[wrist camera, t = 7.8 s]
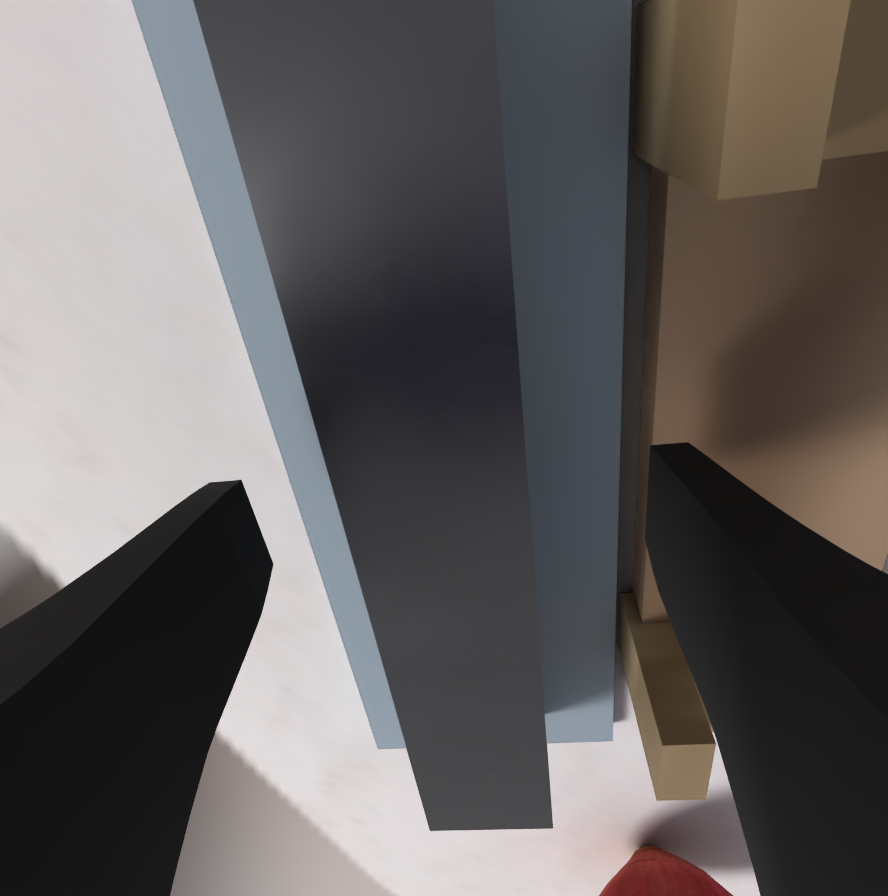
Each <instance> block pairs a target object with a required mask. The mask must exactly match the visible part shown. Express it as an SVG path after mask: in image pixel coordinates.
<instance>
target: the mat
mask: <svg viewBox="0 0 888 896" xmlns="http://www.w3.org/2000/svg"><path fill="white" fill-rule="evenodd" d="M132 3H133V6H134V9H135V12H136V15H137V18H138V21H139V24H140V27H141V30H142V34H143V37H144V40H145V43H146V46H147V49H148V52H149V55H150V58H151V61H152V64H153V67H154V70H155V73H156V76H157V79H158V82H159V85H160V88H161V91H162V94H163V97H164V100H165V103H166V106H167V109H168V113H169V116H170V119H171V122H172V125H173V128H174V131H175V134H176V137H177V140H178V143H179V146H180V149H181V152H182V155H183V158H184V161H185V164H186V167H187V170H188V173H189V176H190V179H191V182H192V185H193V189H194V192H195V195H196V198H197V201H198V204H199V207H200V210H201V213H202V216H203V219H204V222H205V225H206V228H207V231H208V234H209V237H210V240H211V243H212V246H213V249H214V252H215V255H216V258H217V261H218V264H219V268H220V271H221V274H222V277H223V280H224V283H225V286H226V289H227V292H228V295H229V298H230V301H231V304H232V307H233V310H234V313H235V316H236V319H237V322H238V325H239V328H240V331H241V334H242V337H243V340H244V343H245V347H246V350H247V353H248V356H249V359H250V362H251V365H252V368H253V371H254V374H255V377H256V380H257V383H258V386H259V389H260V392H261V395H262V398H263V401H264V404H265V407H266V410H267V413H268V416H269V419H270V422H271V426H272V429H273V432H274V435H275V438H276V441H277V444H278V447H279V450H280V453H281V456H282V459H283V462H284V465H285V468H286V471H287V474H288V477H289V480H290V483H291V486H292V489H293V492H294V495H295V498H296V502H297V505H298V508H299V511H300V514H301V517H302V520H303V523H304V526H305V529H306V532H307V535H308V538H309V541H310V544H311V547H312V550H313V553H314V556H315V559H316V562H317V565H318V568H319V571H320V574H321V577H322V581H323V584H324V587H325V590H326V593H327V596H328V599H329V602H330V605H331V608H332V611H333V614H334V617H335V620H336V623H337V626H338V629H339V632H340V635H341V638H342V641H343V644H344V647H345V650H346V653H347V656H348V660H349V663H350V666H351V669H352V672H353V675H354V678H355V681H356V684H357V687H358V690H359V693H360V696H361V699H362V702H363V705H364V708H365V711H366V714H367V717H368V720H369V723H370V726H371V729H372V732H373V735H374V739H375V742H376V745H377V748H378V749H399V748H406V745H405V741H404V738H403V734H402V731H401V727H400V724H399V720H398V717H397V713H396V710H395V706H394V703H393V699H392V696H391V692H390V689H389V685H388V682H387V678H386V675H385V671H384V668H383V664H382V661H381V657H380V654H379V650H378V647H377V643H376V640H375V636H374V633H373V629H372V625H371V622H370V618H369V615H368V611H367V608H366V604H365V601H364V597H363V594H362V590H361V587H360V583H359V580H358V576H357V573H356V569H355V566H354V562H353V559H352V555H351V552H350V548H349V545H348V541H347V538H346V534H345V531H344V527H343V524H342V520H341V517H340V513H339V510H338V506H337V503H336V499H335V496H334V492H333V489H332V485H331V482H330V478H329V475H328V471H327V468H326V464H325V461H324V457H323V454H322V450H321V447H320V443H319V440H318V436H317V433H316V429H315V426H314V422H313V419H312V415H311V412H310V408H309V405H308V401H307V398H306V394H305V391H304V387H303V384H302V380H301V377H300V373H299V370H298V366H297V363H296V359H295V356H294V352H293V349H292V345H291V342H290V338H289V335H288V331H287V328H286V324H285V321H284V317H283V314H282V310H281V307H280V303H279V300H278V296H277V293H276V289H275V286H274V282H273V279H272V275H271V272H270V268H269V265H268V261H267V258H266V254H265V251H264V247H263V244H262V240H261V236H260V233H259V229H258V226H257V222H256V219H255V215H254V212H253V208H252V205H251V201H250V198H249V194H248V191H247V187H246V184H245V180H244V177H243V173H242V170H241V166H240V163H239V159H238V156H237V152H236V149H235V145H234V142H233V138H232V135H231V131H230V128H229V124H228V121H227V117H226V114H225V110H224V107H223V103H222V100H221V96H220V93H219V89H218V86H217V82H216V79H215V75H214V72H213V68H212V65H211V61H210V58H209V54H208V51H207V47H206V44H205V40H204V37H203V33H202V30H201V26H200V23H199V19H198V16H197V12H196V9H195V5H194V2H193V0H132ZM493 10H494V24H495V37H496V51H497V65H498V79H499V93H500V106H501V120H502V134H503V148H504V161H505V175H506V189H507V203H508V216H509V230H510V244H511V258H512V271H513V285H514V299H515V313H516V327H517V340H518V354H519V368H520V382H521V395H522V409H523V423H524V437H525V450H526V464H527V478H528V492H529V506H530V519H531V533H532V547H533V561H534V574H535V588H536V602H537V616H538V629H539V643H540V657H541V671H542V685H543V698H544V712H545V726H546V740H547V743H571V742H600V741H613V707H614V669H615V630H616V592H617V554H618V515H619V477H620V439H621V400H622V362H623V323H624V285H625V247H626V208H627V170H628V131H629V93H630V55H631V16H632V0H493Z"/></svg>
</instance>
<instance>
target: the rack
mask: <svg viewBox="0 0 888 896" xmlns="http://www.w3.org/2000/svg"><path fill="white" fill-rule="evenodd" d="M634 156H636V157H638V158H640V159H642V160H643V161H645V162H647V163H649V164H651V165H652V177H651V199H650V221H649V243H648V265H647V287H646V309H645V331H644V353H643V374H642V396H641V418H640V440H639V462H638V484H637V506H636V528H635V549H634V571H633V593H620V618H619V650H620V654H621V658H622V662H623V666H624V670H625V674H626V679H627V683H628V687H629V691H630V695H631V699H632V703H633V707H634V711H635V715H636V719H637V723H638V727H639V731H640V735H641V739H642V743H643V747H644V751H645V755H646V759H647V763H648V767H649V771H650V775H651V779H652V783H653V787H654V791H655V795H656V800H657V801H660V800H702V799H706V796H707V790H708V785H709V779H710V773H711V768H712V762H713V757H714V751H715V746H716V743H715V740H714V737H713V734H712V732H714V730H713V728H712V725H711V722H710V719H709V716H708V714H707V711H706V708H705V706H704V703H703V701H702V698H701V696H700V693H699V691H698V688H697V686H696V684H695V681H694V679H693V676H692V674H691V671H690V669H689V666H688V664H687V661H686V659H685V656H684V654H683V652H682V649H681V647H680V644H679V642H678V639H677V637H676V634H675V632H674V629H673V627H672V624H671V622H670V619H669V617H668V614H667V612H666V609H665V607H664V604H663V602H662V599H661V597H660V594H659V591H658V588H657V585H656V581H655V577H654V573H653V570H652V566H651V562H650V558H649V554H648V550H647V546H646V542H645V526H646V508H647V491H648V473H649V455H650V445H660V444H672V443H683V442H688V443H690V444H691V445H693V446H694V447H696V448H697V449H698V450H700V451H701V452H702V453H704V454H705V455H706V456H708V457H709V458H710V459H712V460H713V461H714V462H716V463H717V464H718V465H720V466H721V467H722V468H724V469H725V470H726V471H728V472H729V473H730V474H732V475H733V476H734V477H736V478H737V479H738V480H740V481H741V482H743V483H744V484H745V485H747V486H748V487H749V488H751V489H752V490H754V491H755V492H756V493H758V494H759V495H760V496H762V497H763V498H765V499H766V500H768V501H769V502H770V503H772V504H773V505H775V506H776V507H778V508H779V509H781V510H782V511H783V512H785V513H786V514H788V515H789V516H791V517H792V518H794V519H795V520H797V521H798V522H800V523H801V524H803V525H805V526H806V527H808V528H809V529H811V530H813V531H814V532H816V533H817V534H819V535H821V536H822V537H824V538H825V539H827V540H829V541H830V542H832V543H833V544H835V545H837V546H838V547H840V548H841V549H843V550H845V551H847V552H848V553H850V554H852V555H853V556H855V557H857V558H859V559H860V560H862V561H864V562H866V563H867V564H869V565H871V566H873V567H875V568H877V569H879V570H881V571H882V569H883V566H884V564H885V561H886V558H887V555H888V0H648V1H645V2H643V3H640V4H638V32H637V64H636V97H635V130H634Z"/></svg>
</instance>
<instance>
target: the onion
mask: <svg viewBox="0 0 888 896" xmlns="http://www.w3.org/2000/svg"><path fill="white" fill-rule="evenodd" d="M599 896H733V895H732V894H730V893H729V892H728V891H727V890H726V889H725V888H723V887H722V886H721V885H720V884H719V883H718V882H716V881H715V880H714V879H713V878H712V877H710V876H709V875H708V874H707V873H706V872H704V871H703V870H702V869H700V868H698V867H696V866H695V865H693V864H691V863H689V862H687V861H686V860H684V859H682V858H679V857H677V856H675V855H673V854H671V853H669V852H667V851H665V850H663V849H661V848H659V847H656V846H646V847H642V848H640V849H638V850H636V851H635V852H634V854H633V856H632V857H631V859H630V860H629V861H628V862H627V863H626V865H625V866H624V867H623V868H622V869H621V870H620V871H619V872H618V873H617V874H616V875H615V876H614V877H613V878H612V879H611V880H610V881H609V883H608V884H607V885H606V887H605V888H604V889H603V891H602V892H601V894H600V895H599Z"/></svg>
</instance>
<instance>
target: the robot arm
mask: <svg viewBox="0 0 888 896" xmlns="http://www.w3.org/2000/svg"><path fill="white" fill-rule="evenodd" d="M645 542H646V546H647V550H648V554H649V558H650V562H651V566H652V570H653V573H654V577H655V581H656V585H657V588H658V591H659V594H660V597H661V599H662V602H663V604H664V607H665V609H666V612H667V614H668V617H669V619H670V622H671V624H672V627H673V629H674V632H675V634H676V637H677V639H678V642H679V644H680V647H681V649H682V652H683V654H684V656H685V659H686V661H687V664H688V666H689V669H690V671H691V674H692V676H693V679H694V681H695V684H696V686H697V688H698V691H699V693H700V696H701V698H702V701H703V703H704V706H705V708H706V711H707V714H708V716H709V719H710V722H711V725H712V728H713V730H714V733H715V736H716V739H717V742H718V746H719V749H720V752H721V756H722V759H723V763H724V766H725V769H726V773H727V776H728V780H729V783H730V786H731V790H732V793H733V797H734V800H735V803H736V807H737V811H738V814H739V818H740V821H741V825H742V829H743V832H744V836H745V839H746V843H747V847H748V850H749V854H750V857H751V861H752V865H753V868H754V872H755V876H756V879H757V883H758V887H759V891H760V895H761V896H888V574H886V573H884V572H882V571H881V570H879V569H877V568H875V567H873V566H871V565H869V564H867V563H866V562H864V561H862V560H860V559H859V558H857V557H855V556H853V555H852V554H850V553H848V552H847V551H845V550H843V549H841V548H840V547H838V546H837V545H835V544H833V543H832V542H830V541H829V540H827V539H825V538H824V537H822V536H821V535H819V534H817V533H816V532H814V531H813V530H811V529H809V528H808V527H806V526H805V525H803V524H801V523H800V522H798V521H797V520H795V519H794V518H792V517H791V516H789V515H788V514H786V513H785V512H783V511H782V510H781V509H779V508H778V507H776V506H775V505H773V504H772V503H770V502H769V501H768V500H766V499H765V498H763V497H762V496H760V495H759V494H758V493H756V492H755V491H754V490H752V489H751V488H749V487H748V486H747V485H745V484H744V483H743V482H741V481H740V480H738V479H737V478H736V477H734V476H733V475H732V474H730V473H729V472H728V471H726V470H725V469H724V468H722V467H721V466H720V465H718V464H717V463H716V462H714V461H713V460H712V459H710V458H709V457H708V456H706V455H705V454H704V453H702V452H701V451H700V450H698V449H697V448H696V447H694V446H693V445H691V444H690V443H688V442H683V443H672V444H660V445H650V455H649V473H648V491H647V508H646V526H645ZM272 568H273V562H272V559H271V557H270V554H269V552H268V549H267V546H266V544H265V541H264V538H263V536H262V533H261V530H260V528H259V525H258V523H257V520H256V517H255V515H254V512H253V509H252V507H251V504H250V502H249V499H248V496H247V494H246V491H245V488H244V486H243V483H242V480H236V481H224V482H212V483H208V484H207V485H205V486H204V487H202V488H200V489H199V490H197V491H196V492H194V493H193V494H191V495H190V496H189V497H187V498H186V499H184V500H183V501H182V502H180V503H179V504H177V505H176V506H175V507H173V508H172V509H171V510H169V511H168V512H167V513H165V514H164V515H163V516H162V517H160V518H159V519H158V520H156V521H155V522H154V523H152V524H151V525H150V526H148V527H147V528H146V529H144V530H143V531H142V532H140V533H139V534H138V535H136V536H135V537H134V538H132V539H131V540H130V541H128V542H127V543H126V544H124V545H123V546H122V547H120V548H119V549H118V550H116V551H115V552H114V553H112V554H111V555H110V556H108V557H107V558H105V559H104V560H103V561H101V562H100V563H98V564H97V565H96V566H94V567H93V568H91V569H90V570H88V571H87V572H86V573H84V574H83V575H81V576H80V577H79V578H77V579H76V580H74V581H73V582H72V583H70V584H69V585H67V586H66V587H64V588H63V589H62V590H60V591H59V592H57V593H56V594H54V595H53V596H52V597H50V598H49V599H47V600H45V601H44V602H42V603H41V604H39V605H38V606H36V607H35V608H33V609H32V610H30V611H28V612H27V613H25V614H24V615H22V616H20V617H19V618H17V619H15V620H14V621H12V622H11V623H9V624H7V625H6V626H4V627H2V628H1V629H0V896H170V893H171V889H172V884H173V880H174V876H175V872H176V868H177V863H178V860H179V856H180V852H181V848H182V844H183V840H184V836H185V833H186V829H187V824H188V821H189V816H190V813H191V810H192V806H193V802H194V799H195V795H196V792H197V789H198V784H199V782H200V778H201V775H202V771H203V767H204V764H205V760H206V757H207V754H208V751H209V748H210V745H211V742H212V740H213V737H214V734H215V731H216V728H217V726H218V723H219V721H220V718H221V716H222V713H223V711H224V708H225V706H226V703H227V701H228V698H229V696H230V693H231V691H232V688H233V686H234V683H235V681H236V678H237V676H238V673H239V671H240V668H241V666H242V663H243V661H244V658H245V656H246V653H247V650H248V648H249V645H250V643H251V640H252V638H253V635H254V632H255V630H256V627H257V625H258V622H259V619H260V616H261V614H262V610H263V606H264V602H265V598H266V595H267V591H268V586H269V581H270V577H271V572H272Z"/></svg>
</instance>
